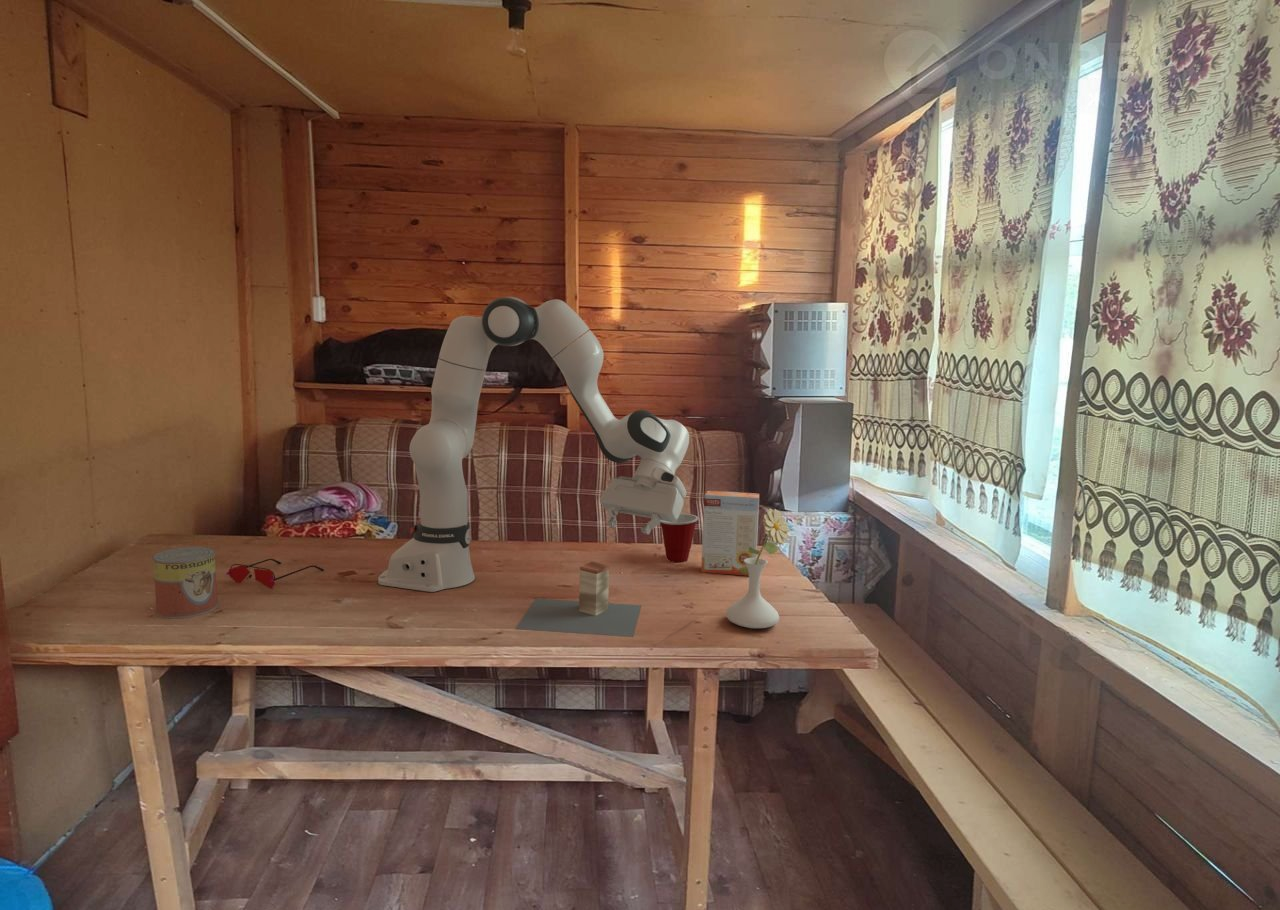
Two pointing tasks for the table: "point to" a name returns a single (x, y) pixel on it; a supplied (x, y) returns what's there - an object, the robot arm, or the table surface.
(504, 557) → the table surface
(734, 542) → the cracker box
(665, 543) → the plastic cup
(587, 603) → the birch block
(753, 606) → the flower in vase
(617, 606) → the slate mat
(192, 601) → the canned food
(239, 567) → the glasses
